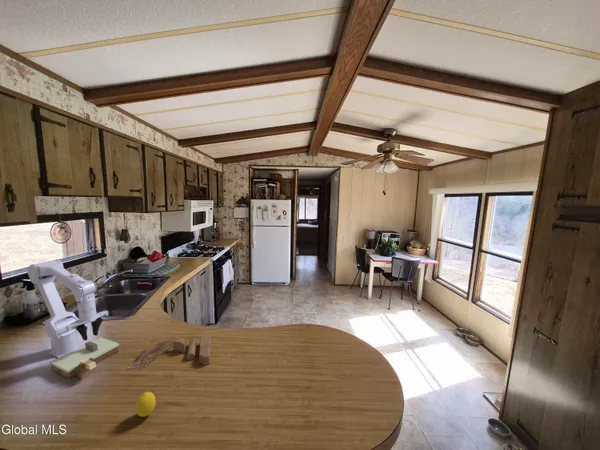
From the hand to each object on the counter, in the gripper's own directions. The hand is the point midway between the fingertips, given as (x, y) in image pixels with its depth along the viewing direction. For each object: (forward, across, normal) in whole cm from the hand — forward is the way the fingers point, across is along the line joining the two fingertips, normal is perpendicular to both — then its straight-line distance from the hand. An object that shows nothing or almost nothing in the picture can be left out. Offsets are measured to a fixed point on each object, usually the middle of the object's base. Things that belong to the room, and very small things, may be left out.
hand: (90, 337), depth 103 cm
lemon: (+10, -10, -51) cm, 53 cm away
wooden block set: (+10, +18, -41) cm, 46 cm away
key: (+6, -7, -12) cm, 15 cm away
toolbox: (+10, -2, -3) cm, 10 cm away
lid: (+7, -2, 0) cm, 7 cm away
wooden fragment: (+10, +14, -23) cm, 29 cm away
